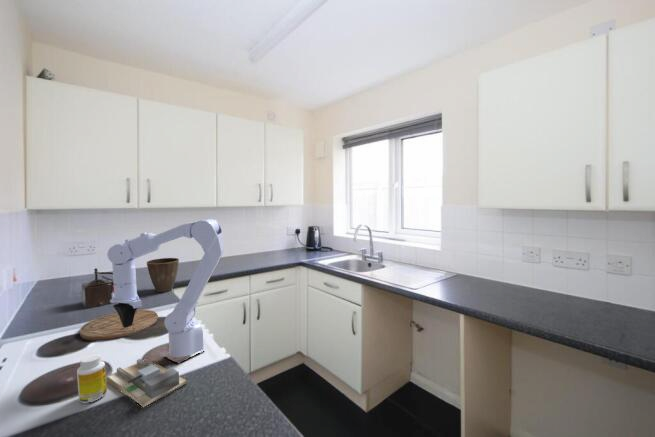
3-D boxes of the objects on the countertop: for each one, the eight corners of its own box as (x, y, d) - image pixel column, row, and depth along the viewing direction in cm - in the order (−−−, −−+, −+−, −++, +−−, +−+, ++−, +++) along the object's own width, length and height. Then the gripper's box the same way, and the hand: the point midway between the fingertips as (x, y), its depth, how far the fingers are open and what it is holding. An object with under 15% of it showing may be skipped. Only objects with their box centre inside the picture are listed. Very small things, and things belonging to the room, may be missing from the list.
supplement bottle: (109, 396, 77) (106, 357, 77) (81, 408, 73) (78, 366, 72) (103, 387, 81) (101, 349, 80) (77, 397, 77) (73, 358, 76)
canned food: (103, 297, 167) (102, 279, 170) (125, 292, 171) (124, 275, 174) (97, 293, 157) (96, 274, 161) (120, 288, 162) (118, 270, 165)
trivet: (172, 317, 128) (172, 312, 128) (116, 345, 104) (116, 340, 104) (125, 311, 135) (124, 307, 135) (62, 336, 111) (62, 331, 111)
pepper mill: (86, 309, 137) (83, 269, 135) (82, 303, 144) (79, 265, 143) (126, 300, 148) (124, 263, 146) (121, 295, 155) (119, 260, 154)
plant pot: (145, 290, 164) (143, 260, 162) (175, 284, 174) (173, 256, 172) (152, 297, 153) (150, 265, 151) (183, 290, 163) (182, 260, 161)
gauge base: (148, 362, 93) (147, 348, 93) (186, 384, 82) (185, 368, 82) (106, 380, 84) (105, 365, 84) (143, 408, 73) (142, 390, 73)
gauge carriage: (152, 374, 85) (151, 364, 84) (159, 379, 82) (159, 368, 82) (124, 387, 79) (124, 376, 79) (132, 393, 77) (131, 381, 76)
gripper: (99, 281, 94) (102, 325, 95) (121, 289, 86) (124, 337, 87) (124, 276, 100) (127, 317, 101) (147, 283, 92) (150, 327, 93)
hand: (127, 326), depth 94 cm, fingers closed
